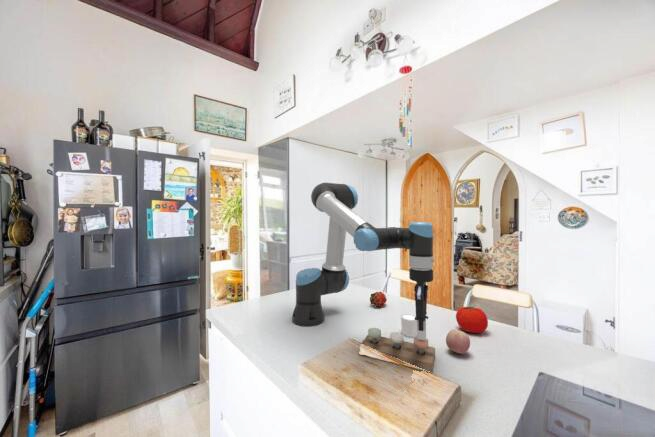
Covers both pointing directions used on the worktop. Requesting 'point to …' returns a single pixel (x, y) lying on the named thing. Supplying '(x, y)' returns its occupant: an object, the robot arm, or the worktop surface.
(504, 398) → the worktop surface
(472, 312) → the tomato
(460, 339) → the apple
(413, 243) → the robot arm
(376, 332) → the button sage
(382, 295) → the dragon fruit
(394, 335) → the button ivory
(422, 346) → the button terracotta
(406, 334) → the white cylinder
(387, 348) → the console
